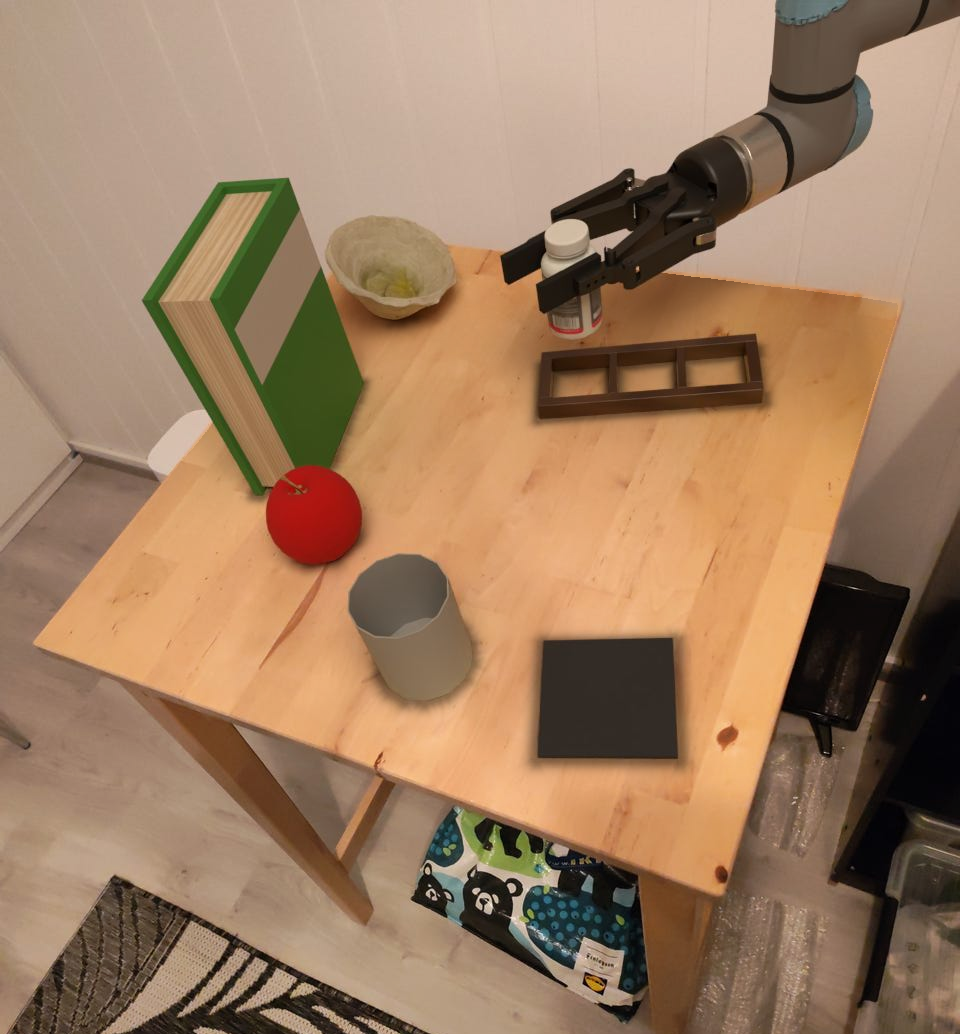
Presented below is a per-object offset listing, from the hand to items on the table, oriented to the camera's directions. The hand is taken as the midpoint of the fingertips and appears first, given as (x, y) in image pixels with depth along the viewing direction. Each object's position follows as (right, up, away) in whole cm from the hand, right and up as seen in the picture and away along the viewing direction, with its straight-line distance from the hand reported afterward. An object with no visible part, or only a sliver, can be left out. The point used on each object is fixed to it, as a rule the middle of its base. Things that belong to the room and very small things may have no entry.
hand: (522, 284), depth 76 cm
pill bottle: (+6, -1, +7) cm, 9 cm away
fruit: (-19, -23, +8) cm, 31 cm away
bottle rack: (+14, -5, +12) cm, 19 cm away
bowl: (-13, +8, +27) cm, 31 cm away
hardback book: (-23, -10, +17) cm, 30 cm away
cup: (-9, -34, -2) cm, 36 cm away
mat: (+7, -37, -7) cm, 39 cm away
